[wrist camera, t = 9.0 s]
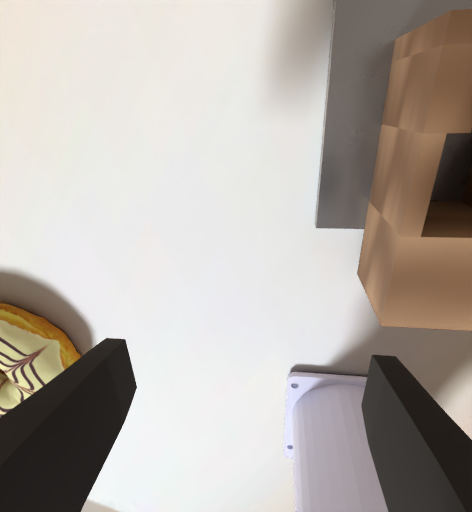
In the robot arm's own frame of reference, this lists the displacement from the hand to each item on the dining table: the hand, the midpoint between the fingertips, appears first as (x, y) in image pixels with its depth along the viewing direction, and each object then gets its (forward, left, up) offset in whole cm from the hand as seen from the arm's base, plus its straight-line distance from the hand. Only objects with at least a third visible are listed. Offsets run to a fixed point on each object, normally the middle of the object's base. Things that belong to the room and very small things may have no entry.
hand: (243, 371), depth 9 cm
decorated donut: (-10, +19, -10) cm, 24 cm away
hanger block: (+4, -8, -9) cm, 13 cm away
